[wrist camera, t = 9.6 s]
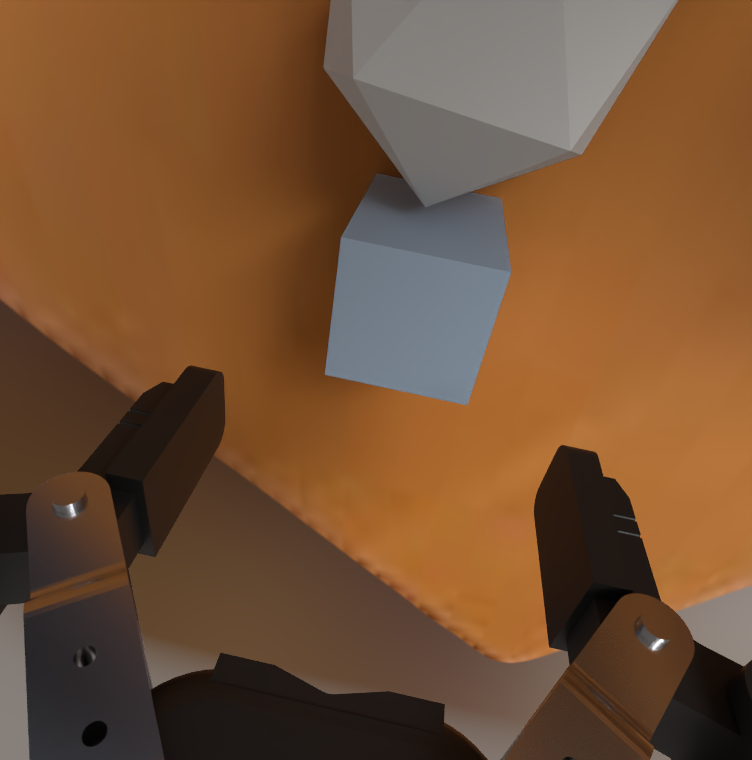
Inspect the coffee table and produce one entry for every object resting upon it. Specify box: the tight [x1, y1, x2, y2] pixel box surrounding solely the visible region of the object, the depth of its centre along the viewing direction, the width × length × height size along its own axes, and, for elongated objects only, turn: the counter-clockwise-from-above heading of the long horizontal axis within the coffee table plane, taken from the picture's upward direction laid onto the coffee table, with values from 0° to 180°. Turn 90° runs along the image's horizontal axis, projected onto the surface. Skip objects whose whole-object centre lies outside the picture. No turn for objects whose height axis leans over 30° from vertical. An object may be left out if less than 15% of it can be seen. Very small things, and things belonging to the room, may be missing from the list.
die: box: [323, 0, 678, 207], centre depth 14 cm, size 8×9×10 cm
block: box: [325, 173, 511, 405], centre depth 20 cm, size 5×5×7 cm
